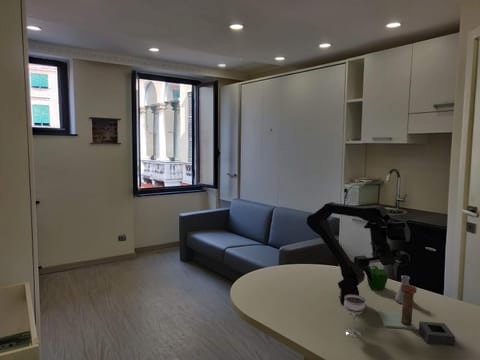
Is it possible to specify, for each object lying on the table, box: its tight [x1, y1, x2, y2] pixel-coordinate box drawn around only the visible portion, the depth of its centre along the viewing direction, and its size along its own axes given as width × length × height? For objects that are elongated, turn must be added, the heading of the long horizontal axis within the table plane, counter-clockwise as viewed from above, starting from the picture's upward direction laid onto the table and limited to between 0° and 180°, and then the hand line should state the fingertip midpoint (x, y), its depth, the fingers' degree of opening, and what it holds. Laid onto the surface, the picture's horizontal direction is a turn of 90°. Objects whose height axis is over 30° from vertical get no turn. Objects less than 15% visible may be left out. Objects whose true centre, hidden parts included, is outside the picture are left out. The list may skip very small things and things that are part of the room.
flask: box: [394, 275, 414, 305], centre depth 142 cm, size 7×7×10 cm
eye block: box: [418, 320, 456, 346], centre depth 117 cm, size 8×8×3 cm
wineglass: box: [343, 294, 366, 338], centre depth 119 cm, size 7×7×12 cm
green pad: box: [377, 310, 416, 330], centre depth 128 cm, size 10×10×1 cm
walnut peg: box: [401, 284, 417, 326], centre depth 124 cm, size 5×5×13 cm
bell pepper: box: [366, 264, 389, 291], centre depth 154 cm, size 8×8×10 cm
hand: (383, 282), depth 132 cm, fingers open, 9 cm apart
